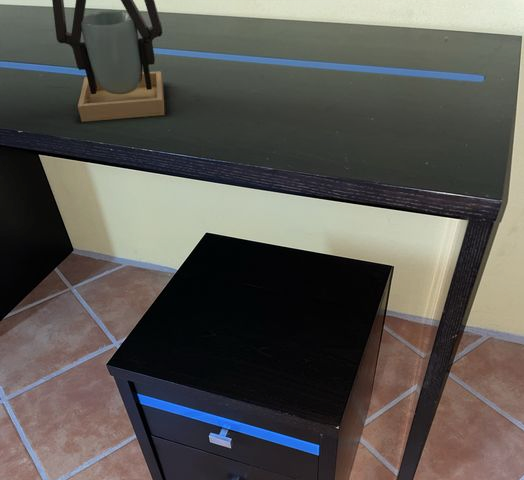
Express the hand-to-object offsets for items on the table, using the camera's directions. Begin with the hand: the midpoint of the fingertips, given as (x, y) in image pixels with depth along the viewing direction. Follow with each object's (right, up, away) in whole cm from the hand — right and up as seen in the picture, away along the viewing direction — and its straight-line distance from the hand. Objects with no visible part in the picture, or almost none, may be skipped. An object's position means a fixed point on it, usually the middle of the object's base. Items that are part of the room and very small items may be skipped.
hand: (121, 88), depth 83 cm
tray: (0, -2, +2) cm, 2 cm away
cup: (0, 0, 0) cm, 0 cm away
